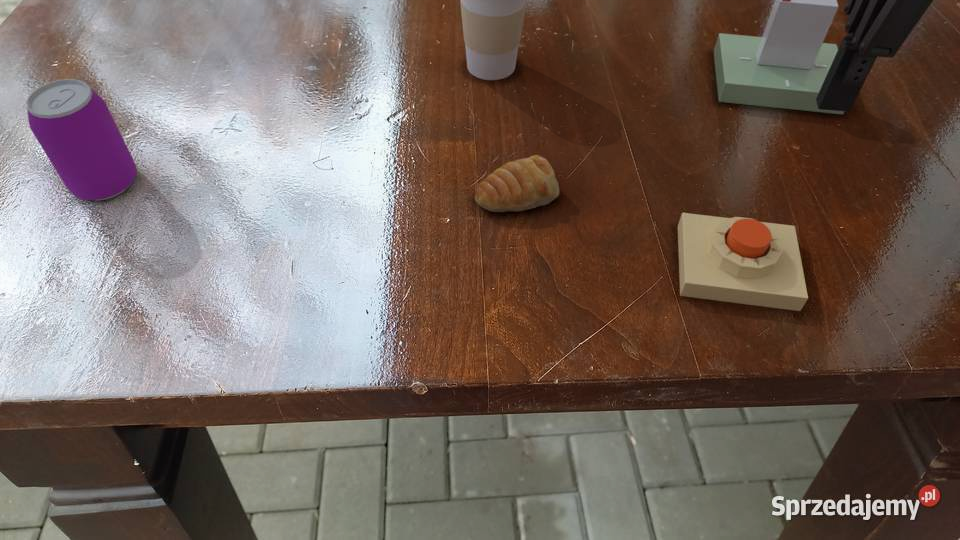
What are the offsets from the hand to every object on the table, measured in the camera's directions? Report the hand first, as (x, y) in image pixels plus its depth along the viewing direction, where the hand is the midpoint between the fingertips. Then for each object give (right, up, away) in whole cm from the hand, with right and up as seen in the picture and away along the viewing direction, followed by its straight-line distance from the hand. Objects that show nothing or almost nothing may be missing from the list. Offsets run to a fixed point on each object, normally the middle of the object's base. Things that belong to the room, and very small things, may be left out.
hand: (832, 105), depth 63 cm
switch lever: (+8, +13, +30) cm, 33 cm away
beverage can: (-76, -5, +18) cm, 78 cm away
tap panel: (+8, +11, +32) cm, 35 cm away
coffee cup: (-31, +13, +34) cm, 47 cm away
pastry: (-28, -6, +17) cm, 33 cm away
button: (-5, -12, +8) cm, 15 cm away
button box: (-5, -15, +10) cm, 19 cm away
